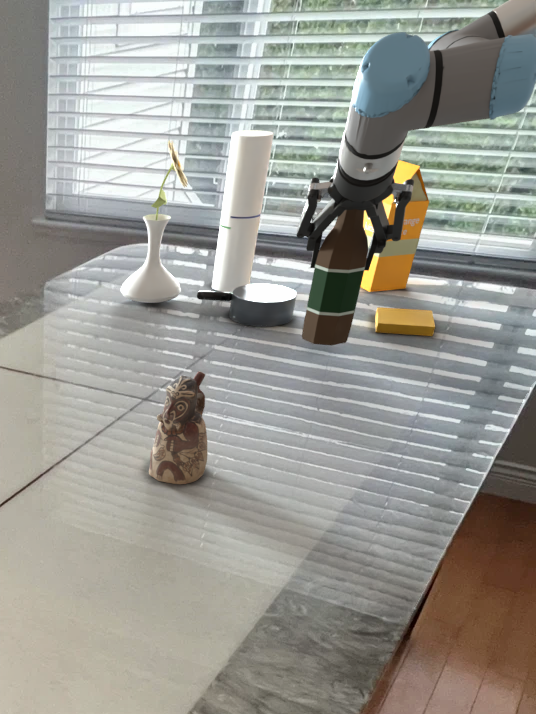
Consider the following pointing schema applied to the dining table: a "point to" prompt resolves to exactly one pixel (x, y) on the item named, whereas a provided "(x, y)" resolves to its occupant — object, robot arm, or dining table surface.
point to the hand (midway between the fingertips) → (340, 260)
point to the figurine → (181, 434)
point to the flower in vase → (155, 252)
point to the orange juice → (398, 255)
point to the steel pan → (257, 304)
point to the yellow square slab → (404, 321)
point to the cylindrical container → (241, 208)
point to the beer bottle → (337, 281)
